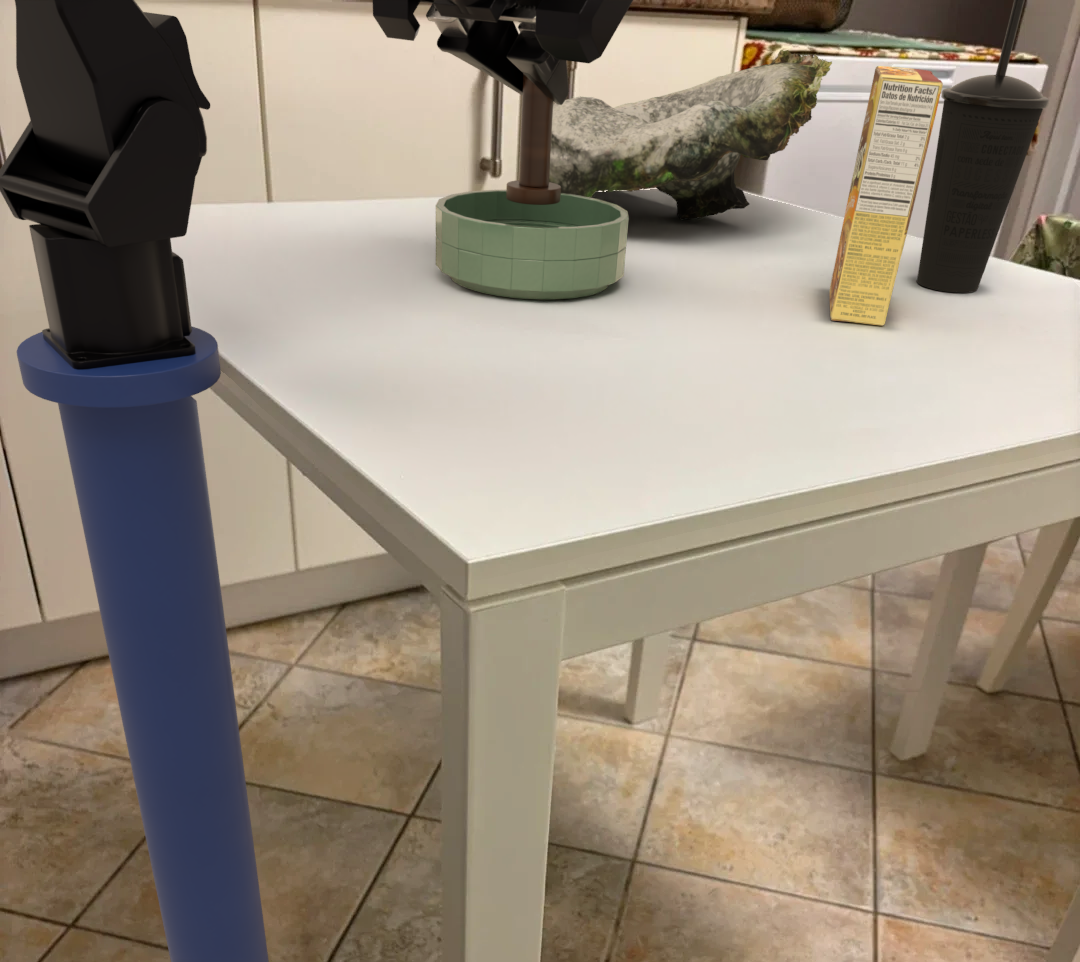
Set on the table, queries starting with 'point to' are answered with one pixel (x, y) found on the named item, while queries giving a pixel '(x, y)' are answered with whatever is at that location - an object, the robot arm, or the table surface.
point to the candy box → (883, 192)
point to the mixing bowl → (530, 245)
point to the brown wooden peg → (534, 150)
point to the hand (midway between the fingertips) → (549, 97)
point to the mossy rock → (685, 135)
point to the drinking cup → (976, 170)
